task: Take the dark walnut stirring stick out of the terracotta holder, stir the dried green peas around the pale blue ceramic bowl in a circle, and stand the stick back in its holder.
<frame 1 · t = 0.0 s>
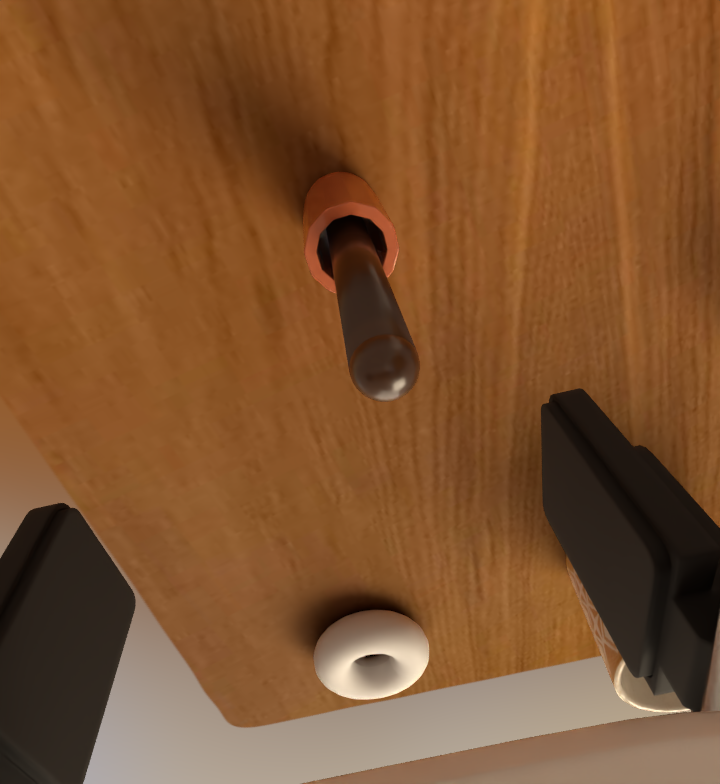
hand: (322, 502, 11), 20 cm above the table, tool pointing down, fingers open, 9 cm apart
stick: (341, 214, 27), point 1 cm above the table, touching holder
donut: (369, 635, 47), on the table
holder: (340, 210, 28), on the table
planter: (626, 537, 44), on the table
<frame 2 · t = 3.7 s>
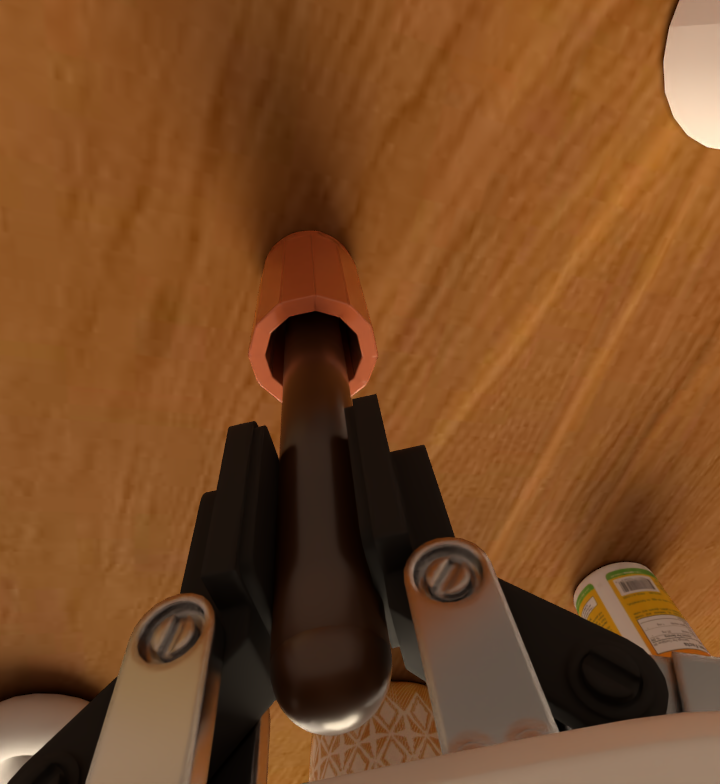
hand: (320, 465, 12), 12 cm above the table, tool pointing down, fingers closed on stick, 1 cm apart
supplement bottle: (610, 584, 35), on the table
stick: (310, 283, 21), point 1 cm above the table, touching gripper
donut: (54, 720, 37), on the table
holder: (309, 276, 22), on the table
planter: (383, 714, 41), on the table
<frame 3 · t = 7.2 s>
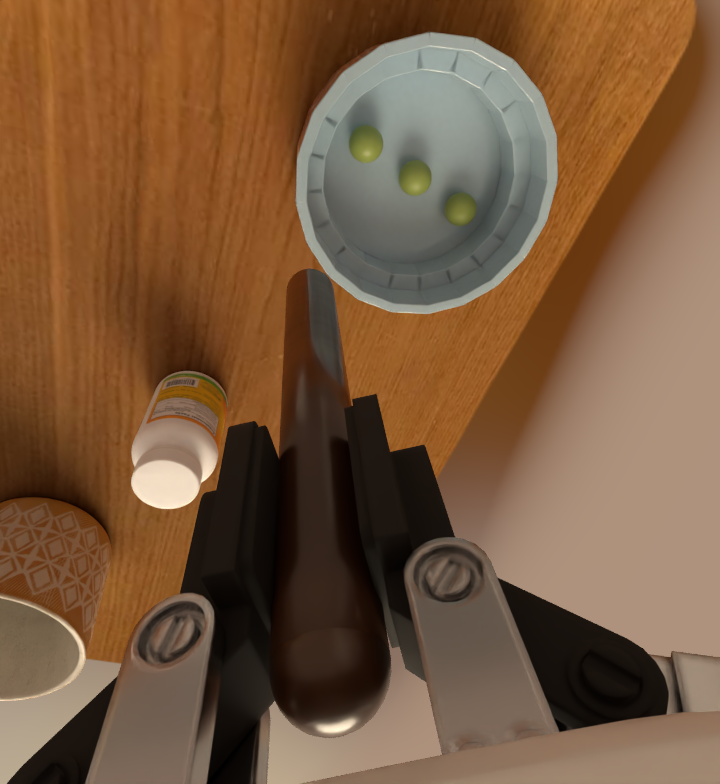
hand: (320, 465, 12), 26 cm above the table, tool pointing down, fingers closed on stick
supplement bottle: (192, 398, 41), on the table
stick: (309, 284, 21), point 15 cm above the table, touching gripper
pea c: (415, 178, 32), point 2 cm above the table, touching bowl
pea b: (366, 144, 31), point 2 cm above the table, touching bowl
bowl: (410, 173, 34), on the table
pea a: (460, 209, 33), point 2 cm above the table, touching bowl
planter: (48, 537, 47), on the table
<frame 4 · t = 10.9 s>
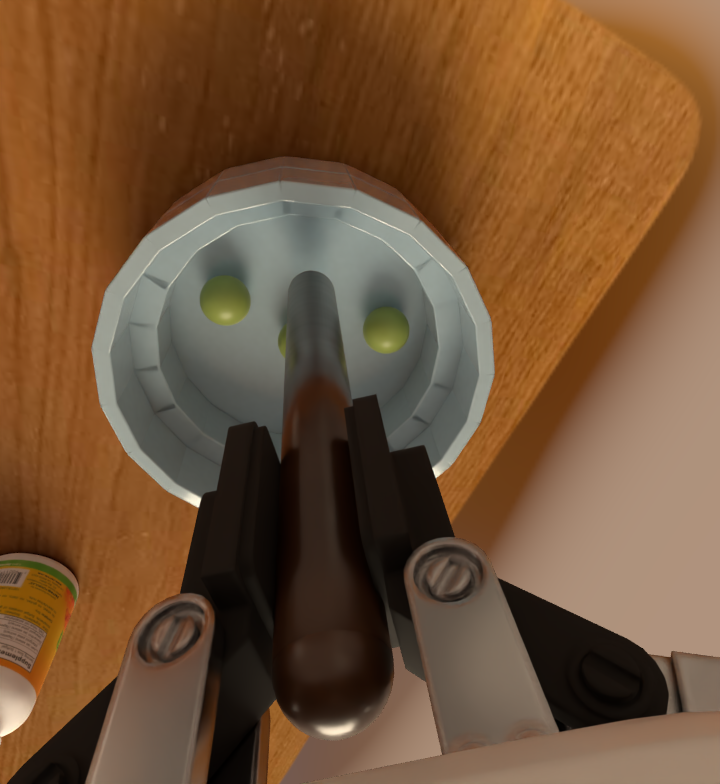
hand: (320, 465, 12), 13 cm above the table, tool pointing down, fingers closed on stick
supplement bottle: (32, 579, 31), on the table
stick: (311, 285, 21), point 2 cm above the table, touching gripper
pea c: (301, 341, 23), point 2 cm above the table, touching bowl
pea b: (225, 300, 21), point 2 cm above the table, touching bowl
bowl: (301, 326, 24), on the table
pea a: (386, 330, 23), point 2 cm above the table, tilted 124°, touching bowl
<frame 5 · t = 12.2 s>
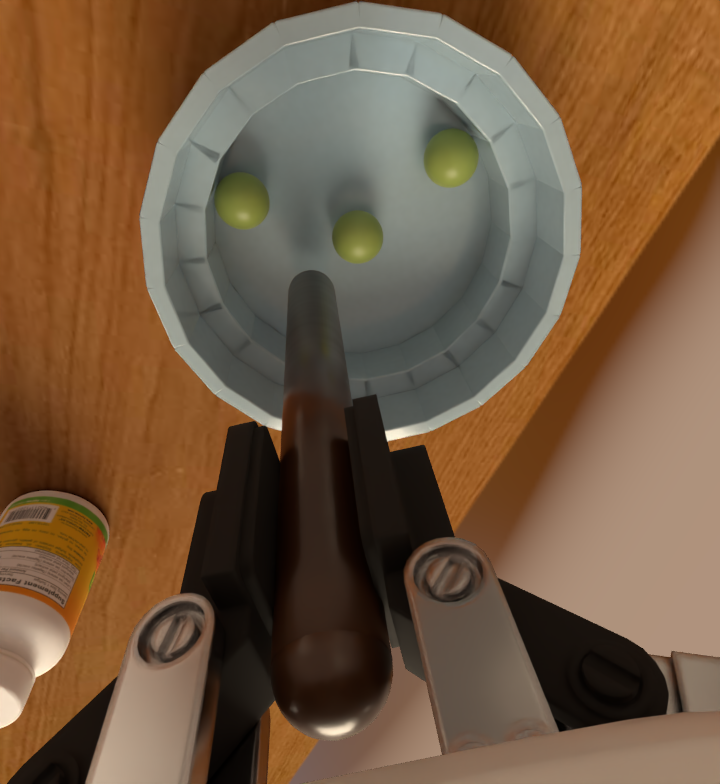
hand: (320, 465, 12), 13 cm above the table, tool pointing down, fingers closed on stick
supplement bottle: (60, 521, 29), on the table
stick: (311, 285, 21), point 2 cm above the table, touching gripper
pea c: (357, 237, 21), point 2 cm above the table, touching bowl
pea b: (242, 201, 20), point 2 cm above the table, tilted 81°, touching bowl
bowl: (354, 226, 22), on the table
pea a: (450, 158, 20), point 2 cm above the table, tilted 83°, touching bowl
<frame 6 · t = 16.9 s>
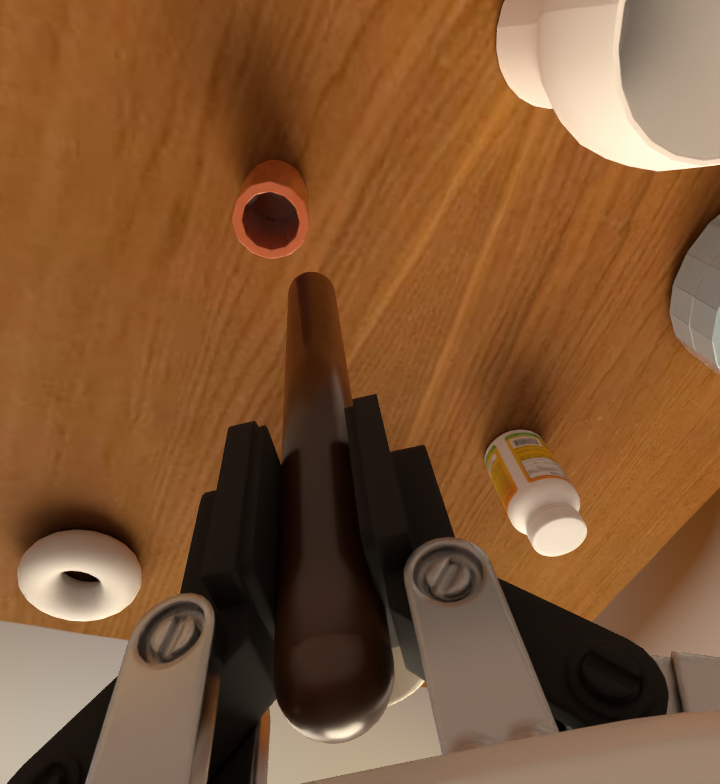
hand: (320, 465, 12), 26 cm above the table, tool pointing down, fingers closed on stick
supplement bottle: (512, 451, 46), on the table
stick: (311, 287, 21), point 15 cm above the table, touching gripper
donut: (88, 559, 48), on the table
holder: (275, 192, 33), on the table
planter: (345, 566, 52), on the table
cup: (561, 30, 30), on the table
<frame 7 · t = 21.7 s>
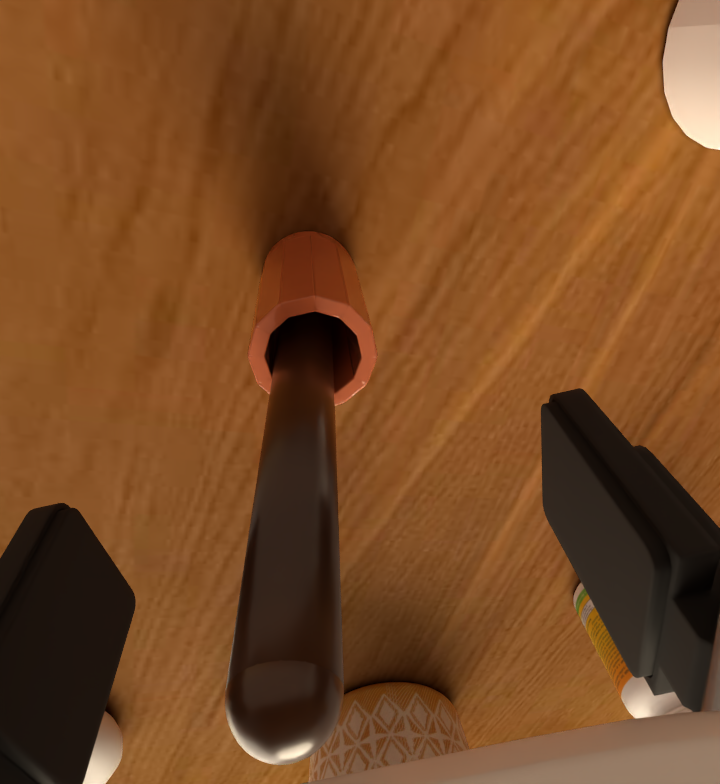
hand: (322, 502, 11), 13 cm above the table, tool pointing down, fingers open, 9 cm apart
supplement bottle: (609, 585, 35), on the table
stick: (308, 289, 21), point 1 cm above the table, touching holder
donut: (53, 721, 37), on the table
holder: (309, 277, 22), on the table
planter: (383, 714, 41), on the table
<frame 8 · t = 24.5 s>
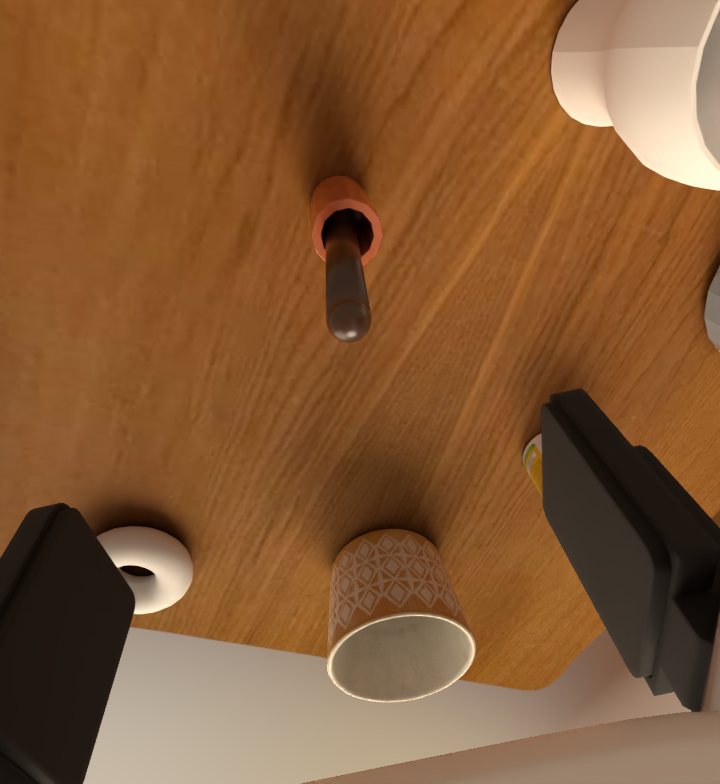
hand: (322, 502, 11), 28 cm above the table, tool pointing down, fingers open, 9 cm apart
supplement bottle: (549, 449, 48), on the table
stick: (339, 212, 35), point 1 cm above the table, touching holder
donut: (141, 554, 50), on the table
holder: (339, 205, 35), on the table
planter: (384, 561, 54), on the table
cup: (612, 54, 32), on the table
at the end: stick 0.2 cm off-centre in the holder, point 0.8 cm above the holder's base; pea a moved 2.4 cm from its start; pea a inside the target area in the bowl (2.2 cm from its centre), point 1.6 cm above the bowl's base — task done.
